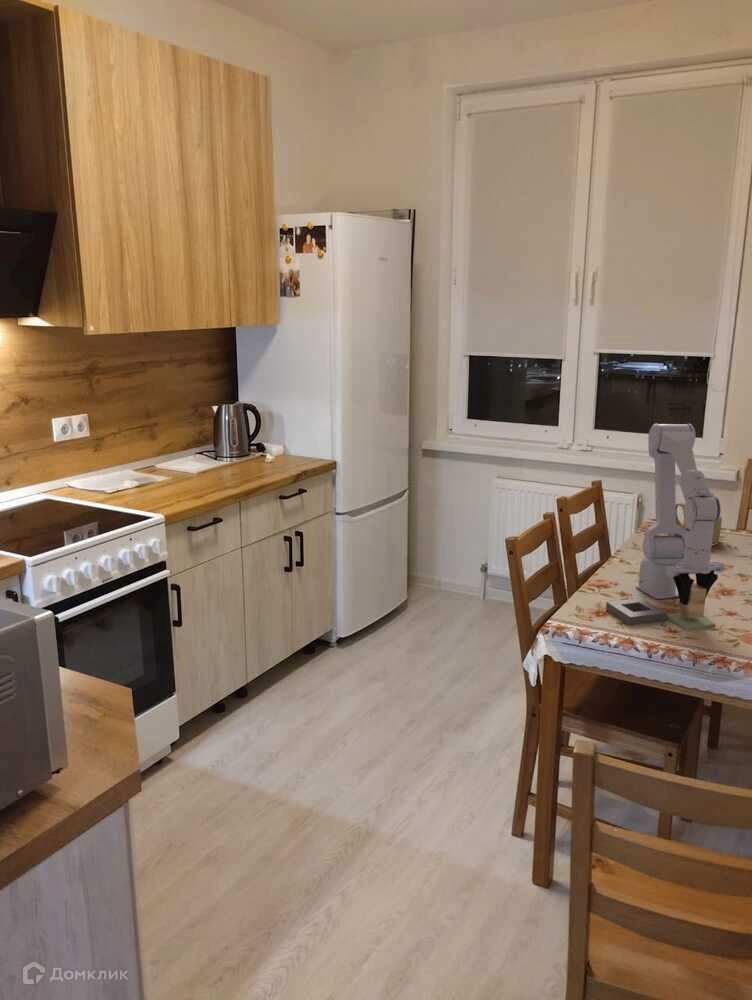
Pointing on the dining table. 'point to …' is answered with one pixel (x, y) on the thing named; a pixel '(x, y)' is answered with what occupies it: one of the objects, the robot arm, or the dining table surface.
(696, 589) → the beech block
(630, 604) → the pocket plate
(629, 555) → the dining table surface
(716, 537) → the olive yellow teapot
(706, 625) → the green mat
